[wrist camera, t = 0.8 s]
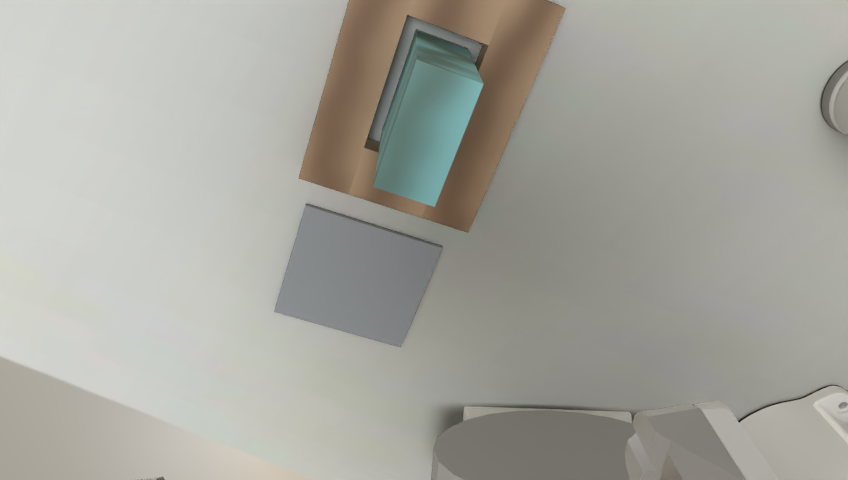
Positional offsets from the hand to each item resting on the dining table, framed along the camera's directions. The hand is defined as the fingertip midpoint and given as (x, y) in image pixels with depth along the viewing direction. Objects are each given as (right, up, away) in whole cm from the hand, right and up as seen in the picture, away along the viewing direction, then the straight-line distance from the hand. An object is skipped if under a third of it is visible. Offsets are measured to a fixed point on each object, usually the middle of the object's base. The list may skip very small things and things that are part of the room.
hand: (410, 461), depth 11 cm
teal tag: (0, +15, +36) cm, 39 cm away
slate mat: (-6, 0, +43) cm, 43 cm away
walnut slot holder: (0, +15, +36) cm, 39 cm away
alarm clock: (+12, -15, +51) cm, 55 cm away
